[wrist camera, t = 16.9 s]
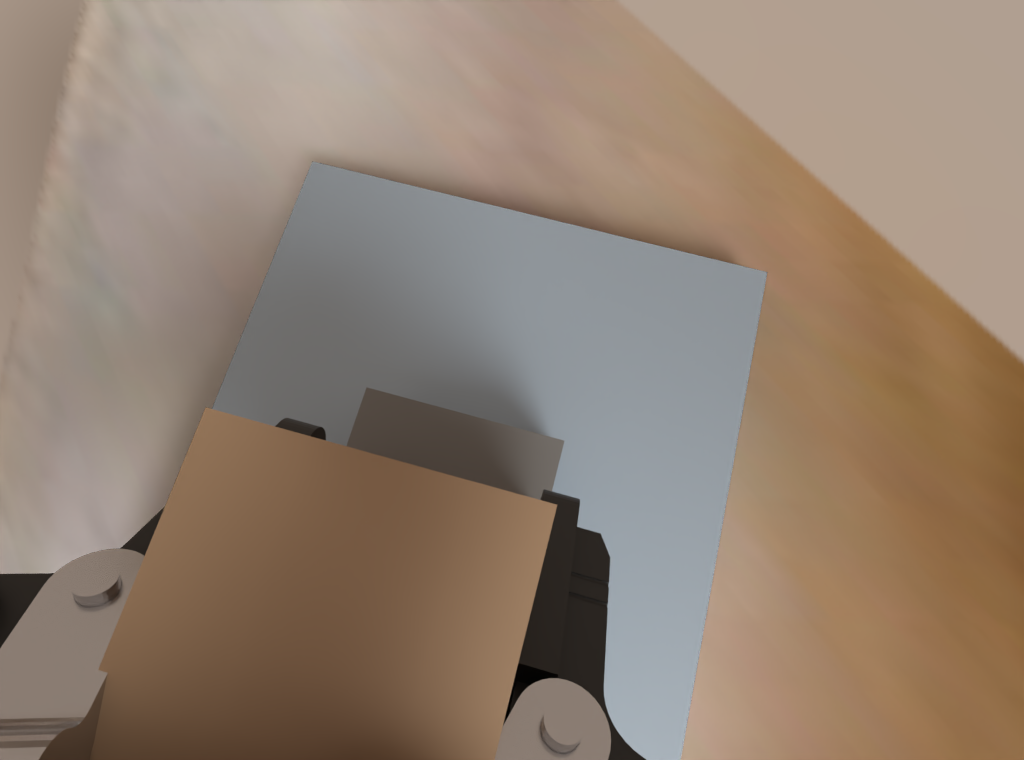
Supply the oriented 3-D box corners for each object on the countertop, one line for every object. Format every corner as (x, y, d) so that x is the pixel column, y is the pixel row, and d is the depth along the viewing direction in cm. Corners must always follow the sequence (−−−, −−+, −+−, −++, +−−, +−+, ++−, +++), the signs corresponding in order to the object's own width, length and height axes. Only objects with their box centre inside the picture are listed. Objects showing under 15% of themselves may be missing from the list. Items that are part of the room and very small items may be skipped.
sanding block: (556, 452, 16) (610, 372, 7) (478, 762, 14) (419, 1176, 5) (389, 407, 16) (239, 275, 7) (290, 703, 14) (-63, 1001, 6)
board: (747, 290, 19) (767, 272, 17) (598, 1095, 14) (608, 1164, 12) (327, 187, 20) (312, 161, 18) (45, 902, 15) (-7, 945, 13)
